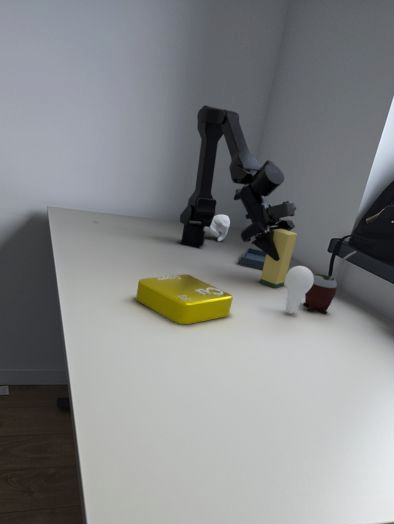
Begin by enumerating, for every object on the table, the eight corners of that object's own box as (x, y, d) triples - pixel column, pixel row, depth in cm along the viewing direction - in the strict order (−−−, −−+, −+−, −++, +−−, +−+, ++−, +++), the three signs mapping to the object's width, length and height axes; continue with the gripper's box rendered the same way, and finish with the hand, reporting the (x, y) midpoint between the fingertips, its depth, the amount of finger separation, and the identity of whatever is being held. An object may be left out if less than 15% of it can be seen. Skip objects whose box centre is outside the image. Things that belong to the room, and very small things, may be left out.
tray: (239, 264, 144) (241, 256, 143) (246, 254, 158) (247, 247, 157) (283, 274, 142) (285, 267, 141) (286, 263, 156) (288, 256, 155)
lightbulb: (305, 313, 113) (318, 267, 109) (301, 321, 108) (315, 272, 103) (279, 306, 114) (291, 260, 110) (274, 313, 109) (287, 265, 105)
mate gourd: (294, 306, 117) (311, 243, 111) (311, 301, 122) (328, 242, 116) (322, 317, 113) (341, 253, 106) (338, 312, 118) (357, 251, 112)
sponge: (259, 282, 130) (272, 229, 124) (268, 280, 134) (281, 228, 128) (275, 288, 128) (288, 234, 122) (283, 285, 131) (297, 233, 126)
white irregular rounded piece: (231, 217, 164) (195, 213, 164) (228, 242, 167) (193, 239, 167) (230, 214, 170) (195, 210, 170) (227, 238, 173) (193, 235, 173)
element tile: (184, 291, 112) (187, 271, 110) (232, 316, 103) (237, 294, 101) (131, 298, 101) (134, 276, 100) (180, 326, 93) (185, 302, 91)
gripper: (261, 187, 116) (291, 246, 115) (297, 188, 130) (323, 241, 129) (228, 213, 123) (255, 269, 122) (265, 211, 137) (289, 261, 136)
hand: (282, 259), depth 127 cm, fingers closed on sponge, 5 cm apart
